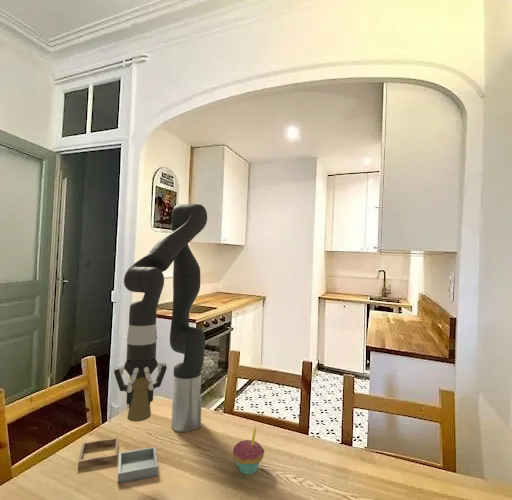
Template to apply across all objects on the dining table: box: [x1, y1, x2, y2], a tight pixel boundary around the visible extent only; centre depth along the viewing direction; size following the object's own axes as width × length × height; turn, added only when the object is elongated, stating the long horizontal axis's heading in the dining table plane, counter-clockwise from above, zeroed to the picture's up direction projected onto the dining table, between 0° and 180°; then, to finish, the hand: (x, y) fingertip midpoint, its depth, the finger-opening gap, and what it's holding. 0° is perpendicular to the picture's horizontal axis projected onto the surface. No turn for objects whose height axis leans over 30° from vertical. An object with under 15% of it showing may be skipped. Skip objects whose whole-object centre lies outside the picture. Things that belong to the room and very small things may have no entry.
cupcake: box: [232, 426, 265, 475], centre depth 92 cm, size 9×8×12 cm
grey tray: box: [117, 446, 159, 485], centre depth 90 cm, size 10×10×2 cm
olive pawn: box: [127, 377, 152, 423], centre depth 91 cm, size 6×6×11 cm
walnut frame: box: [77, 437, 119, 470], centre depth 95 cm, size 10×10×2 cm
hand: (139, 403), depth 91 cm, fingers closed on olive pawn, 4 cm apart
